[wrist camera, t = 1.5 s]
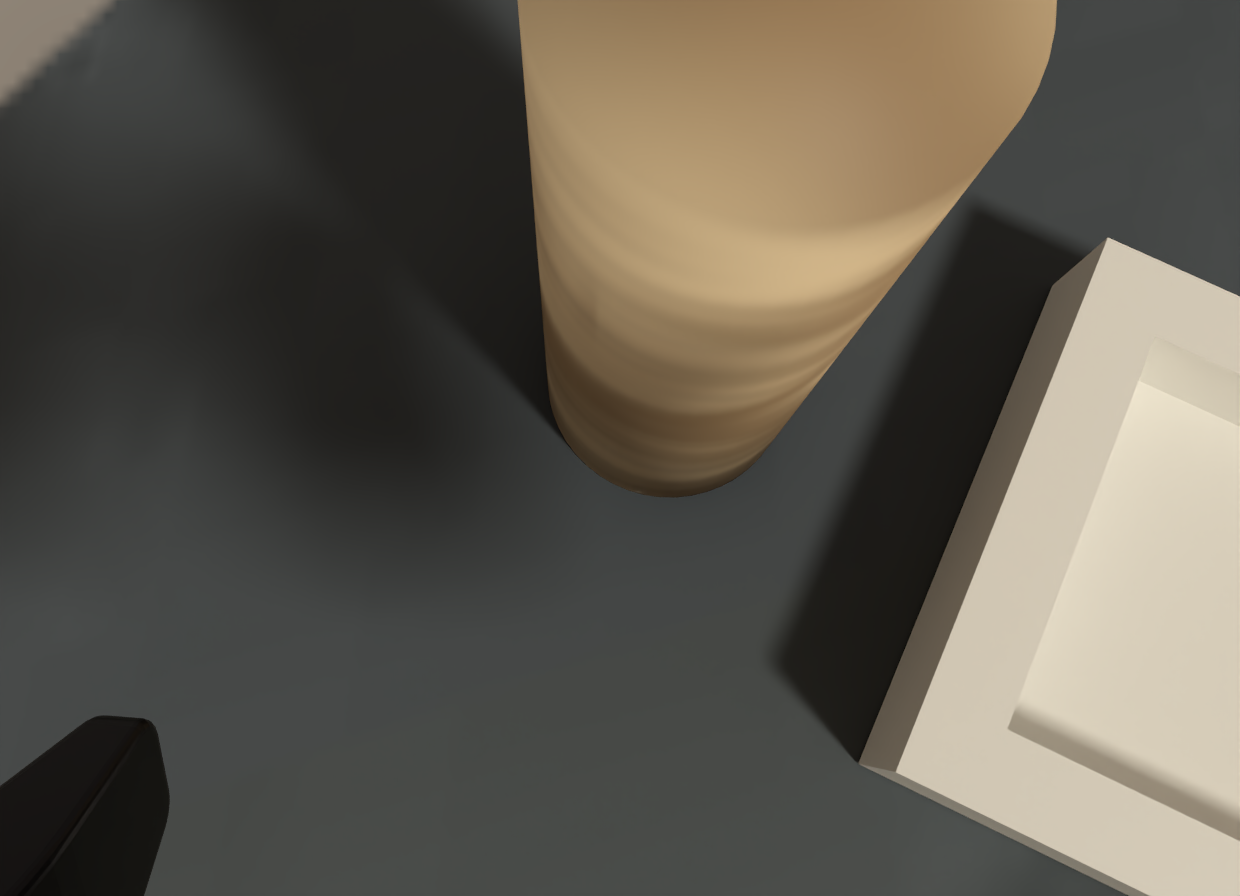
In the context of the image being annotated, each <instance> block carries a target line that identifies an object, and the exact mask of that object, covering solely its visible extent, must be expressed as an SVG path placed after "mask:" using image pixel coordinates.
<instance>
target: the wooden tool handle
mask: <svg viewBox="0 0 1240 896" xmlns="http://www.w3.org/2000/svg"><path fill="white" fill-rule="evenodd" d="M1056 5H1057V0H518V10H519V23H520V36H521V48H522V61H523V74H524V87H525V99H526V112H527V125H528V138H529V150H530V163H531V176H532V189H533V201H534V214H535V227H536V239H537V252H538V265H539V278H540V290H541V303H542V316H543V329H544V341H545V354H546V367H547V380H548V390H549V399H550V403H551V407H552V411H553V415H554V417H555V420H556V422H557V425H558V427H559V429H560V431H561V433H562V435H563V437H564V438H565V440H566V442H567V443H568V445H569V446H570V447H571V449H572V450H573V451H574V453H575V454H576V455H577V456H578V457H579V458H580V459H581V460H582V461H583V462H584V463H585V464H586V465H587V466H588V467H589V468H590V469H592V470H593V471H594V472H596V473H597V474H598V475H599V476H601V477H603V478H604V479H606V480H608V481H609V482H611V483H613V484H615V485H617V486H620V487H622V488H624V489H627V490H629V491H633V492H636V493H640V494H643V495H650V496H656V497H683V496H692V495H696V494H700V493H704V492H708V491H710V490H713V489H715V488H718V487H721V486H723V485H725V484H726V483H728V482H730V481H732V480H734V479H735V478H737V477H738V476H739V475H741V474H742V473H743V472H745V471H746V470H748V469H749V468H750V467H751V466H752V465H753V464H754V463H755V462H756V461H757V460H758V459H759V458H760V456H761V455H762V454H763V453H764V451H765V450H766V449H767V447H768V446H769V445H770V444H771V442H772V441H773V440H774V438H775V437H776V436H777V434H778V433H779V432H780V431H781V429H782V428H783V427H784V425H785V424H786V423H787V421H788V420H789V419H790V418H791V416H792V415H793V414H794V412H795V411H796V410H797V408H798V407H799V406H800V405H801V403H802V402H803V401H804V399H805V398H806V397H807V395H808V394H809V393H810V392H811V390H812V389H813V388H814V386H815V385H816V384H817V383H818V381H819V380H820V379H821V377H822V376H823V375H824V373H825V372H826V371H827V370H828V368H829V367H830V366H831V364H832V363H833V362H834V360H835V359H836V358H837V357H838V355H839V354H840V353H841V351H842V350H843V349H844V347H845V346H846V345H847V344H848V342H849V341H850V340H851V338H852V337H853V336H854V334H855V333H856V332H857V331H858V329H859V328H860V327H861V325H862V324H863V323H864V321H865V320H866V319H867V318H868V316H869V315H870V314H871V312H872V311H873V310H874V308H875V307H876V306H877V305H878V303H879V302H880V301H881V299H882V298H883V297H884V295H885V294H886V293H887V292H888V290H889V289H890V288H891V286H892V285H893V284H894V282H895V281H896V280H897V279H898V277H899V276H900V275H901V273H902V272H903V271H904V270H905V268H906V267H907V266H908V264H909V263H910V262H911V260H912V259H913V258H914V257H915V255H916V254H917V253H918V251H919V250H920V249H921V247H922V246H923V245H924V244H925V242H926V241H927V240H928V238H929V237H930V236H931V234H932V233H933V232H934V231H935V229H936V228H937V227H938V225H939V224H940V223H941V221H942V220H943V219H944V218H945V216H946V215H947V214H948V212H949V211H950V210H951V208H952V207H953V206H954V205H955V203H956V202H957V201H958V199H959V198H960V197H961V195H962V194H963V193H964V192H965V190H966V189H967V188H968V186H969V185H970V184H971V182H972V181H973V180H974V179H975V177H976V176H977V175H978V173H979V172H980V171H981V170H982V168H983V167H984V166H985V164H986V163H987V162H988V160H989V159H990V158H991V157H992V155H993V154H994V153H995V151H996V150H997V149H998V147H999V146H1000V145H1001V144H1002V142H1003V141H1004V140H1005V138H1006V137H1007V136H1008V134H1009V133H1010V132H1011V131H1012V129H1013V128H1014V127H1015V125H1016V124H1017V123H1018V121H1019V120H1020V119H1021V118H1022V116H1023V114H1024V112H1025V111H1026V109H1027V107H1028V105H1029V104H1030V102H1031V100H1032V98H1033V96H1034V95H1035V93H1036V91H1037V89H1038V87H1039V84H1040V81H1041V79H1042V76H1043V73H1044V71H1045V68H1046V66H1047V63H1048V60H1049V56H1050V51H1051V46H1052V42H1053V37H1054V32H1055V22H1056Z"/></svg>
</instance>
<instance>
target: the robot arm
mask: <svg viewBox="0 0 1240 896" xmlns="http://www.w3.org/2000/svg"><path fill="white" fill-rule="evenodd" d="M169 804H170V796H169V788H168V783H167V778H166V773H165V768H164V763H163V758H162V753H161V748H160V742H159V737H158V733H157V730H156V727H155V726H154V725H153V723H152V722H150V721H149V720H146V719H144V718H132V717H119V716H97V717H94V718H92V719H90V720H87V721H86V722H84V723H83V724H82V725H80V726H79V727H78V728H76V729H75V730H74V731H72V732H71V733H70V734H68V735H67V736H66V737H64V738H63V739H62V740H60V741H59V742H58V743H56V744H55V745H54V746H53V747H51V748H50V749H49V750H47V751H46V752H45V753H43V754H42V755H41V756H39V757H38V758H37V759H35V760H34V761H33V762H31V763H30V764H29V765H27V766H26V767H25V768H24V769H22V770H21V771H20V772H18V773H17V774H16V775H14V776H13V777H12V778H10V779H9V780H8V781H6V782H5V783H4V784H2V785H1V786H0V896H144V894H145V891H146V888H147V884H148V881H149V878H150V875H151V872H152V868H153V865H154V862H155V859H156V856H157V852H158V849H159V846H160V843H161V840H162V836H163V833H164V830H165V827H166V823H167V818H168V813H169Z"/></svg>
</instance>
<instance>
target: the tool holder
mask: <svg viewBox="0 0 1240 896" xmlns="http://www.w3.org/2000/svg"><path fill="white" fill-rule="evenodd" d="M858 764H860V765H862V766H864V767H866V768H868V769H870V770H872V771H874V772H876V773H878V774H880V775H882V776H884V777H886V778H888V779H890V780H892V781H894V782H897V783H899V784H901V785H903V786H905V787H907V788H909V789H911V790H913V791H915V792H917V793H919V794H921V795H923V796H925V797H927V798H929V799H931V800H933V801H936V802H938V803H940V804H942V805H944V806H946V807H948V808H950V809H952V810H954V811H956V812H958V813H960V814H962V815H964V816H966V817H968V818H970V819H972V820H975V821H977V822H979V823H981V824H983V825H985V826H987V827H989V828H991V829H993V830H995V831H997V832H999V833H1001V834H1003V835H1005V836H1007V837H1009V838H1012V839H1014V840H1016V841H1018V842H1020V843H1022V844H1024V845H1026V846H1028V847H1030V848H1032V849H1034V850H1036V851H1038V852H1040V853H1042V854H1044V855H1046V856H1048V857H1051V858H1053V859H1055V860H1057V861H1059V862H1061V863H1063V864H1065V865H1067V866H1069V867H1071V868H1073V869H1075V870H1077V871H1079V872H1081V873H1083V874H1085V875H1087V876H1090V877H1092V878H1094V879H1096V880H1098V881H1100V882H1102V883H1104V884H1106V885H1108V886H1110V887H1112V888H1114V889H1116V890H1118V891H1120V892H1122V893H1124V894H1127V895H1129V896H1240V297H1239V296H1237V295H1235V294H1233V293H1230V292H1228V291H1226V290H1224V289H1222V288H1219V287H1217V286H1215V285H1213V284H1210V283H1208V282H1206V281H1204V280H1201V279H1199V278H1197V277H1195V276H1193V275H1190V274H1188V273H1186V272H1184V271H1181V270H1179V269H1177V268H1175V267H1172V266H1170V265H1168V264H1166V263H1164V262H1161V261H1159V260H1157V259H1155V258H1152V257H1150V256H1148V255H1146V254H1144V253H1141V252H1139V251H1137V250H1135V249H1132V248H1130V247H1128V246H1126V245H1123V244H1121V243H1119V242H1117V241H1115V240H1112V239H1110V238H1107V239H1106V240H1104V241H1103V242H1102V243H1101V244H1100V245H1099V246H1098V247H1096V248H1095V249H1094V250H1093V251H1092V252H1091V253H1089V254H1088V255H1087V256H1086V257H1085V258H1084V259H1082V260H1081V261H1080V262H1079V263H1078V264H1077V265H1076V266H1074V267H1073V268H1072V269H1071V270H1070V271H1069V272H1067V273H1066V274H1065V275H1064V276H1063V277H1062V278H1060V279H1059V280H1058V281H1057V282H1056V283H1055V284H1054V285H1052V288H1051V290H1050V293H1049V295H1048V297H1047V300H1046V302H1045V305H1044V307H1043V310H1042V312H1041V315H1040V317H1039V320H1038V322H1037V325H1036V327H1035V329H1034V332H1033V334H1032V337H1031V339H1030V342H1029V344H1028V347H1027V349H1026V352H1025V354H1024V357H1023V359H1022V362H1021V364H1020V366H1019V369H1018V371H1017V374H1016V376H1015V379H1014V381H1013V384H1012V386H1011V389H1010V391H1009V394H1008V396H1007V398H1006V401H1005V403H1004V406H1003V408H1002V411H1001V413H1000V416H999V418H998V421H997V423H996V426H995V428H994V430H993V433H992V435H991V438H990V440H989V443H988V445H987V448H986V450H985V453H984V455H983V458H982V460H981V463H980V465H979V467H978V470H977V472H976V475H975V477H974V480H973V482H972V485H971V487H970V490H969V492H968V495H967V497H966V499H965V502H964V504H963V507H962V509H961V512H960V514H959V517H958V519H957V522H956V524H955V527H954V529H953V531H952V534H951V536H950V539H949V541H948V544H947V546H946V549H945V551H944V554H943V556H942V559H941V561H940V564H939V566H938V568H937V571H936V573H935V576H934V578H933V581H932V583H931V586H930V588H929V591H928V593H927V596H926V598H925V600H924V603H923V605H922V608H921V610H920V613H919V615H918V618H917V620H916V623H915V625H914V628H913V630H912V632H911V635H910V637H909V640H908V642H907V645H906V647H905V650H904V652H903V655H902V657H901V660H900V662H899V665H898V667H897V669H896V672H895V674H894V677H893V679H892V682H891V684H890V687H889V689H888V692H887V694H886V697H885V699H884V701H883V704H882V706H881V709H880V711H879V714H878V716H877V719H876V721H875V724H874V726H873V729H872V731H871V733H870V736H869V738H868V741H867V743H866V746H865V748H864V751H863V753H862V756H861V758H860V761H859V763H858Z"/></svg>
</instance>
